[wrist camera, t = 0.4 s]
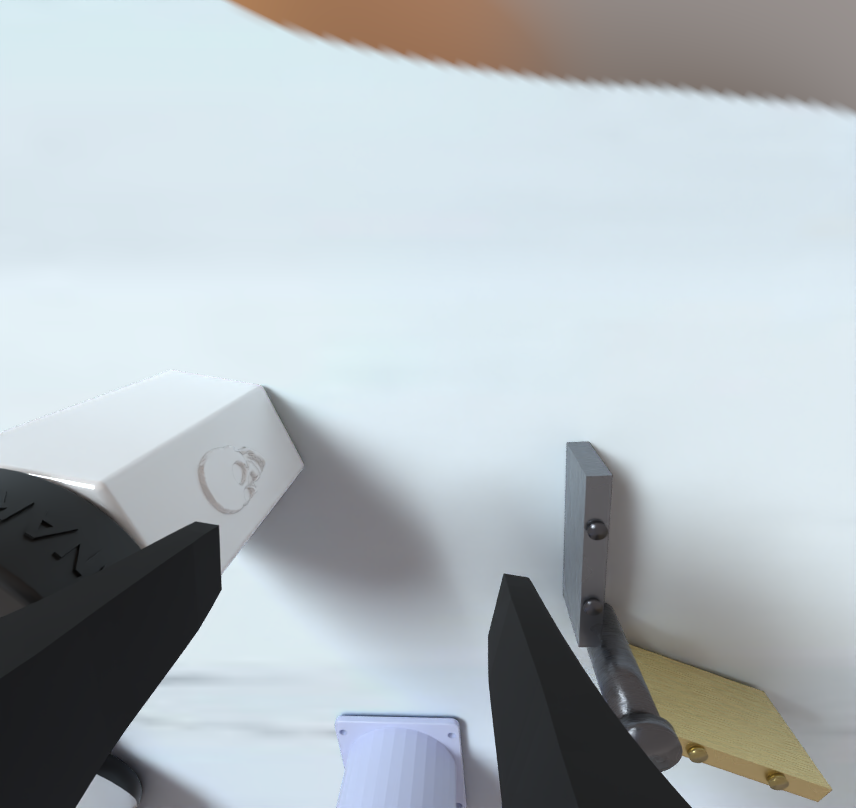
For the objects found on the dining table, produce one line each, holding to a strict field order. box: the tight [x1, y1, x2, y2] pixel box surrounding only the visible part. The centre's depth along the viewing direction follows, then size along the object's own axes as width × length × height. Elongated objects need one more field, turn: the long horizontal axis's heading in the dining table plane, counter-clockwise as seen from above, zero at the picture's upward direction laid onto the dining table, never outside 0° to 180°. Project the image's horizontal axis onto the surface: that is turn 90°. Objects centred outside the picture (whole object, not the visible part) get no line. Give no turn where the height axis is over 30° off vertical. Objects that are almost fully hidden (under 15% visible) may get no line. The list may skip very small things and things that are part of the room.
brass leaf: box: [629, 644, 832, 802], centre depth 20 cm, size 9×1×5 cm, turn 70°
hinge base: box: [563, 442, 683, 772], centre depth 18 cm, size 12×3×7 cm, turn 5°
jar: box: [0, 370, 304, 617], centre depth 15 cm, size 9×8×12 cm
